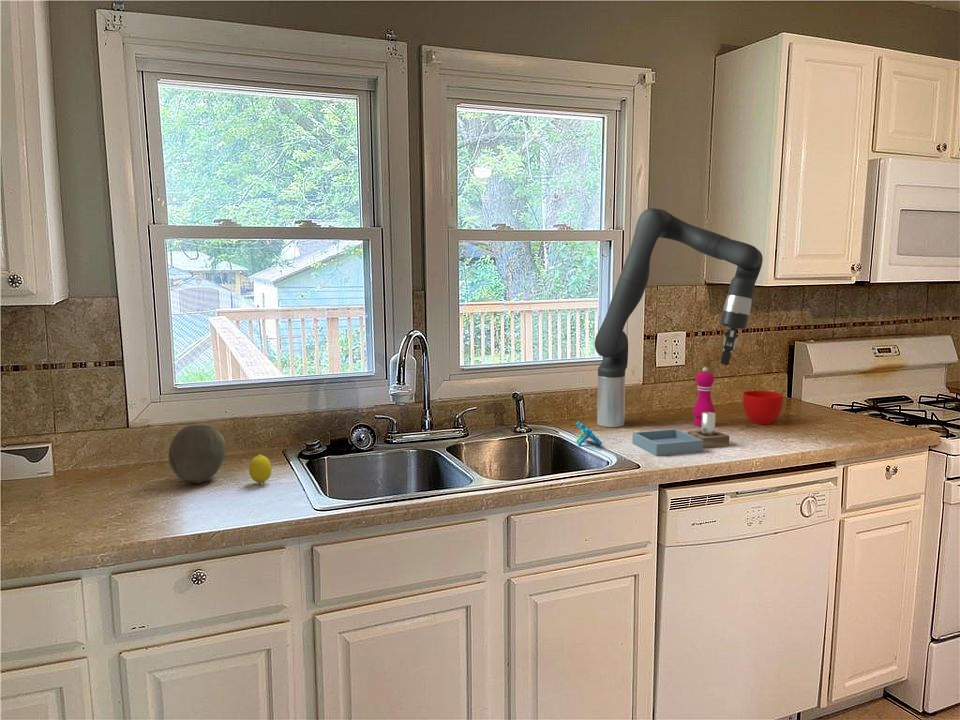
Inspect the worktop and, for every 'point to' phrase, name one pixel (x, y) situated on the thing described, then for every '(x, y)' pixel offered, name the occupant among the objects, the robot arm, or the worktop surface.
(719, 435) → the socket block
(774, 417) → the ceramic cup
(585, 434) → the blue branched flat part
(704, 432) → the pin
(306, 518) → the worktop surface
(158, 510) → the worktop surface
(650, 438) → the parts tray
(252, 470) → the lemon
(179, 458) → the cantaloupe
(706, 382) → the pepper mill
